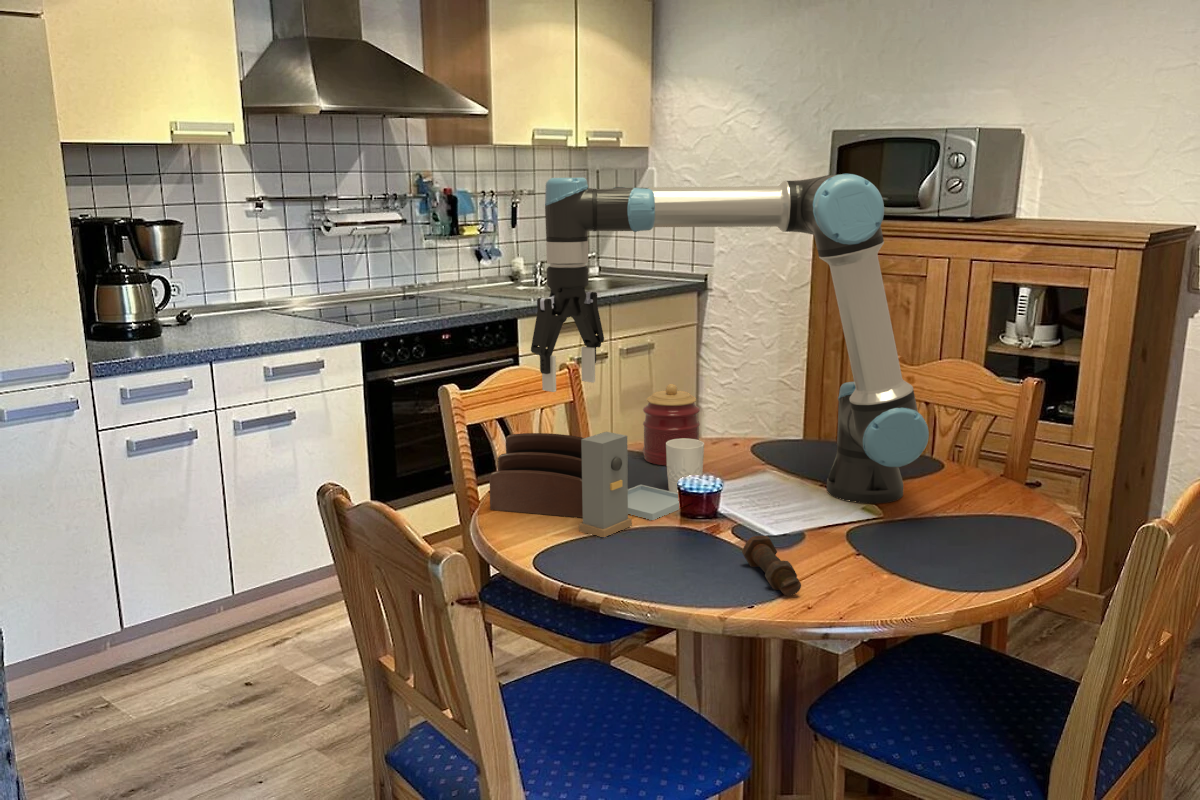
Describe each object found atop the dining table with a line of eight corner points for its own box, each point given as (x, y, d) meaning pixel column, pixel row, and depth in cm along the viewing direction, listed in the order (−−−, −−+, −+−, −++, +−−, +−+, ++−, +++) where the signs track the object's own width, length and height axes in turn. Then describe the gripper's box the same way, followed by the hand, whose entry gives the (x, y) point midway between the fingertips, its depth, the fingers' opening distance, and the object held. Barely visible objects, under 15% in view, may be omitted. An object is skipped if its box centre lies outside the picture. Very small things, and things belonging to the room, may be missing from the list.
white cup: (663, 494, 204) (663, 447, 202) (667, 483, 212) (667, 437, 209) (702, 496, 203) (702, 448, 201) (704, 484, 210) (705, 438, 208)
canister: (662, 448, 239) (662, 376, 235) (709, 456, 231) (710, 382, 228) (632, 461, 229) (631, 385, 225) (680, 470, 221) (681, 392, 217)
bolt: (786, 610, 153) (752, 570, 168) (813, 593, 154) (777, 554, 168) (769, 582, 152) (737, 544, 166) (797, 564, 152) (762, 528, 166)
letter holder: (508, 495, 205) (506, 429, 202) (600, 503, 199) (600, 435, 196) (489, 511, 196) (486, 441, 193) (585, 519, 190) (584, 448, 187)
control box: (632, 526, 185) (631, 435, 182) (604, 538, 180) (603, 444, 176) (607, 519, 189) (606, 430, 186) (579, 531, 183) (577, 439, 180)
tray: (692, 503, 198) (692, 496, 198) (652, 520, 188) (652, 513, 188) (640, 490, 207) (640, 484, 206) (599, 507, 197) (599, 500, 197)
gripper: (592, 260, 190) (593, 374, 195) (507, 268, 173) (511, 393, 178) (623, 261, 185) (623, 378, 190) (538, 270, 169) (541, 399, 173)
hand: (569, 386), depth 184 cm, fingers open, 10 cm apart
